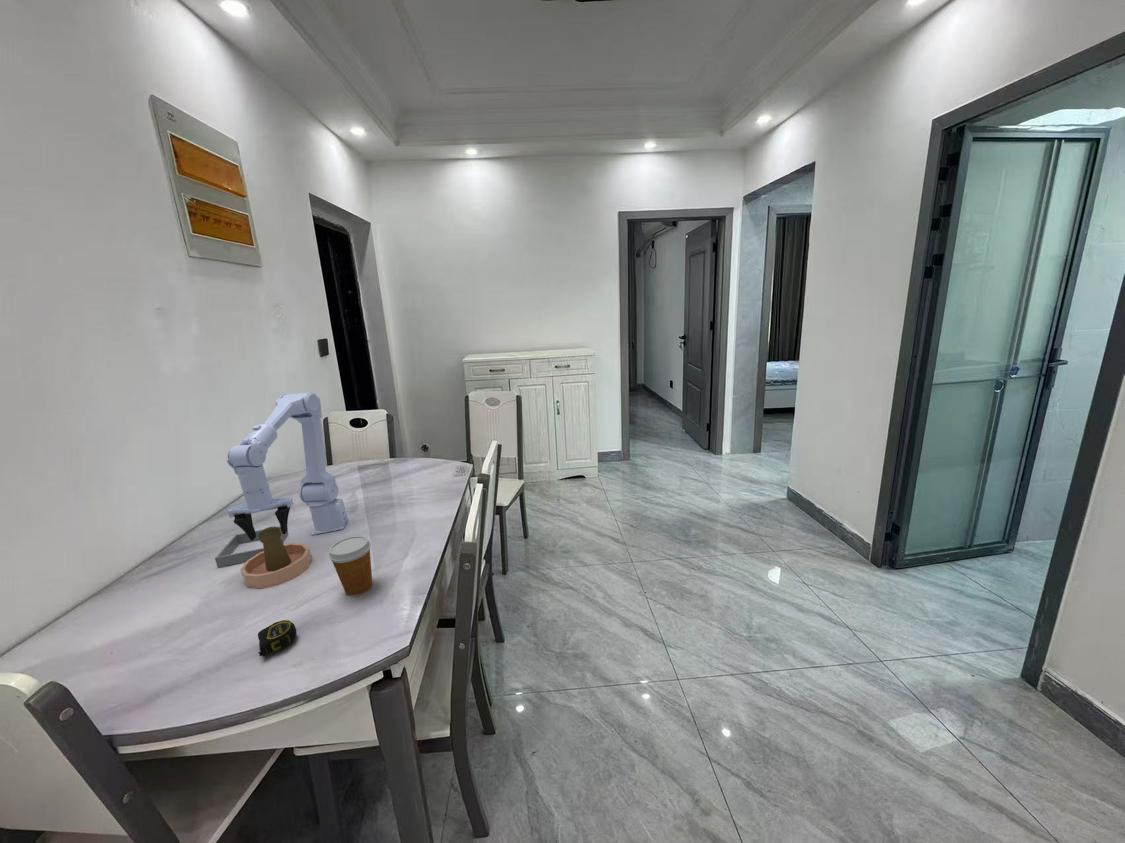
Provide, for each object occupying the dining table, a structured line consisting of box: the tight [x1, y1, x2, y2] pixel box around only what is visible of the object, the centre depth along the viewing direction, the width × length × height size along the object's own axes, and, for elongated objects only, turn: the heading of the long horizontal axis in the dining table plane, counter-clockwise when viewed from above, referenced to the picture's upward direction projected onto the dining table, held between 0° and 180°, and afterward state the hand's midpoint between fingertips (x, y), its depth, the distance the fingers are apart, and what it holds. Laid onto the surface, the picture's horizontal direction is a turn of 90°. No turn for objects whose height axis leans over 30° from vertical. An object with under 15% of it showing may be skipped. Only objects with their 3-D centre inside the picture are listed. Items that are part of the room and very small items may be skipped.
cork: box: [258, 526, 291, 571], centre depth 124 cm, size 6×6×11 cm
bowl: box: [240, 542, 313, 589], centre depth 124 cm, size 16×16×4 cm
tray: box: [214, 526, 289, 568], centre depth 137 cm, size 14×14×3 cm
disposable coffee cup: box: [327, 535, 373, 597], centre depth 112 cm, size 10×10×12 cm
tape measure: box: [257, 619, 297, 658], centre depth 96 cm, size 7×7×4 cm
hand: (269, 535), depth 122 cm, fingers open, 7 cm apart
